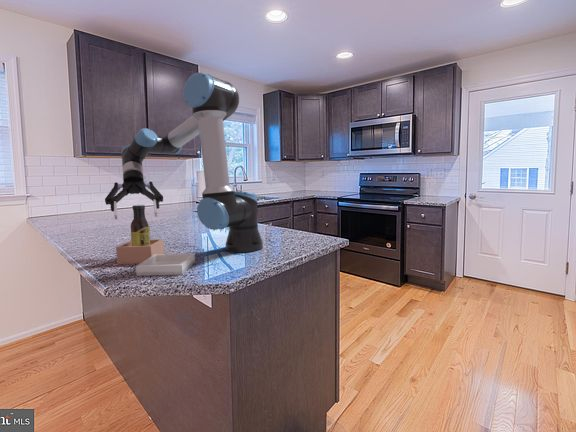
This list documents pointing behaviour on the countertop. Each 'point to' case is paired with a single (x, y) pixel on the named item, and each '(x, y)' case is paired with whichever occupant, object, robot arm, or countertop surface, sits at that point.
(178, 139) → the robot arm
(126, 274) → the countertop surface
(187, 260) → the tray
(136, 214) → the sauce bottle
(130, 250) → the holder
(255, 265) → the countertop surface
